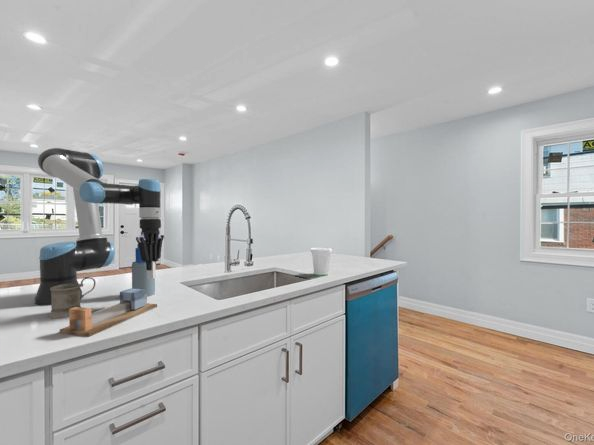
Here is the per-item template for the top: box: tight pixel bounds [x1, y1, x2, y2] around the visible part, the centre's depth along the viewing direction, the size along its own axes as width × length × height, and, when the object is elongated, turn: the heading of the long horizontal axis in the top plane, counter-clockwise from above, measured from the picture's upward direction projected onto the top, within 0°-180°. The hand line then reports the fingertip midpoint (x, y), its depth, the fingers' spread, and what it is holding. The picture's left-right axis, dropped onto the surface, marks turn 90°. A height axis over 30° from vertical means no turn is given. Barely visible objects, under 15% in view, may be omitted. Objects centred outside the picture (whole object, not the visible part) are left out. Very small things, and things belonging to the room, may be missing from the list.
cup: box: [310, 247, 333, 277], centre depth 172 cm, size 12×12×15 cm
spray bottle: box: [131, 243, 156, 298], centre depth 128 cm, size 9×9×25 cm
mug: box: [47, 275, 96, 319], centre depth 106 cm, size 14×10×12 cm
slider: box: [119, 287, 145, 310], centre depth 107 cm, size 6×5×6 cm
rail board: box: [59, 294, 158, 337], centre depth 99 cm, size 11×28×7 cm, turn 166°
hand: (151, 277), depth 116 cm, fingers closed
